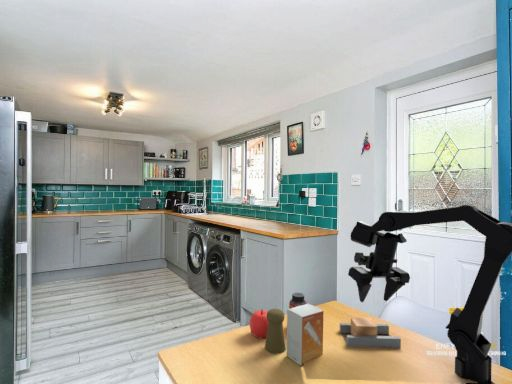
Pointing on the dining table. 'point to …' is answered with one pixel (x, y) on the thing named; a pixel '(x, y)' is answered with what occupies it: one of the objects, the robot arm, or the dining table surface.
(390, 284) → the robot arm
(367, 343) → the chute
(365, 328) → the block
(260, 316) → the apple
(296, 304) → the supplement bottle
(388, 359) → the dining table surface
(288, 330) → the small box
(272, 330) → the olive pepper mill
